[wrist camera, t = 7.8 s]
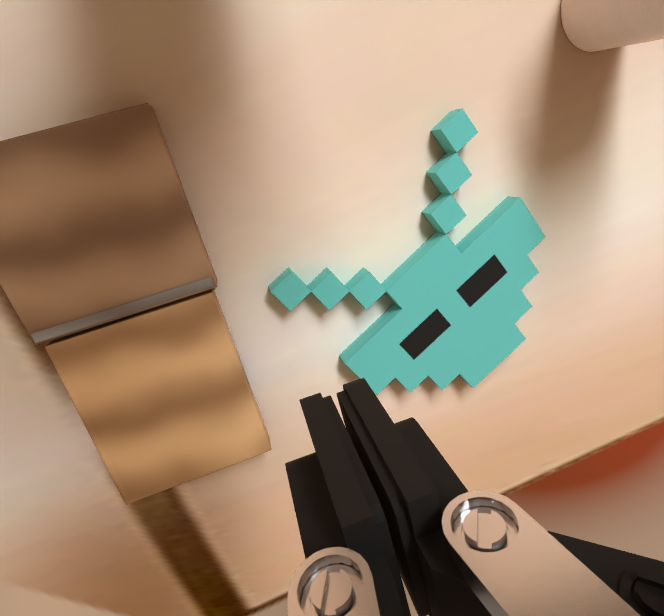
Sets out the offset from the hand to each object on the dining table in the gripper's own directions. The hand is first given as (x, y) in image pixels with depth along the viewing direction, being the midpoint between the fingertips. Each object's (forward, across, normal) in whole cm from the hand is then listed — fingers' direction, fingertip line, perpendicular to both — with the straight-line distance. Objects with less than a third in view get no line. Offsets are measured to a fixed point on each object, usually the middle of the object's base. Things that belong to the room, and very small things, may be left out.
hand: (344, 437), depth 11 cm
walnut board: (+26, +10, -4) cm, 28 cm away
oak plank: (+25, +10, +10) cm, 28 cm away
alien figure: (+26, -13, +8) cm, 30 cm away
